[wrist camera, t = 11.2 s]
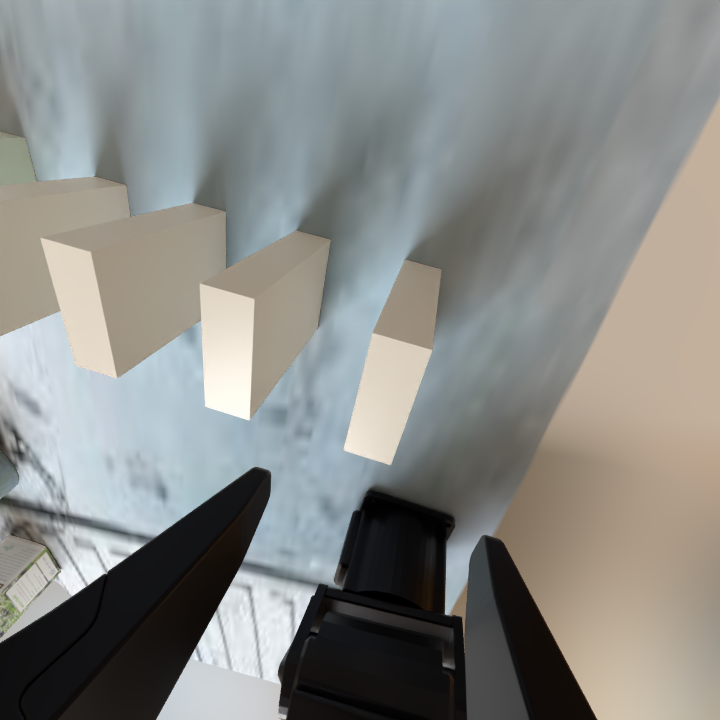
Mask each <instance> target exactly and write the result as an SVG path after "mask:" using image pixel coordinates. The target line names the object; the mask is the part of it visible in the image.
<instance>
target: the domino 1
mask: <svg viewBox="0 0 720 720" xmlns="http://www.w3.org/2000/svg"><path fill="white" fill-rule="evenodd" d="M30 182H37V180H36V176H35V172H34V168H33V164H32V160H31V156H30V152H29V149H28V145H27V141H26V138H23V137H19V136H15V135H12V134H8V133H4V132H0V185H8V184H19V183H30Z"/></svg>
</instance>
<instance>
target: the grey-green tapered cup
mask: <svg viewBox="0 0 720 720" xmlns="http://www.w3.org/2000/svg"><path fill="white" fill-rule="evenodd" d="M18 477H19V475H18V473H17V470H16V469H15V467H14V466H13V464H12V463H11V462H10V460H9V459H8V458H7V457H6V456H5V455H4V454H3V453H2V452H1V451H0V499H1V498H2V497H4V496H5V495H6V494H7V493H8V492H10V491H11V490H12V489H13V488H14V487H15V486H16V485H17V484H18V481H19V478H18Z"/></svg>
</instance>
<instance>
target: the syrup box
mask: <svg viewBox="0 0 720 720" xmlns="http://www.w3.org/2000/svg"><path fill="white" fill-rule="evenodd" d="M60 572H61V570H60V568H59V567H58V565H57V563H56V562H55V560H54V558H53V557H52V555H51V554H50V552H49V551H48V549H47V548H46V547H45V546H43V545H41V544H38V543H36V542H32V541H30V540H26V539H23V538H19V537H16V536H12V535H9V536H7V537H6V538H5V539H4V540H3V541H2V542H1V543H0V638H1V637H2V636H3V635H4V634H5V633H6V631H7V630H8V629H9V628H10V627H11V626H12V625H13V624H14V623H15V622H16V621H17V619H18V618H19V617H20V616H21V615H22V614H23V613H24V612H25V611H26V610H27V608H28V607H29V606H30V605H31V604H32V603H33V602H34V601H35V600H36V599H37V597H38V596H39V595H40V594H41V593H42V592H43V591H44V590H45V588H46V587H47V586H48V585H49V584H50V583H51V582H52V581H53V580H54V579H55V578H56V576H57V575H58V574H59V573H60Z"/></svg>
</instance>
